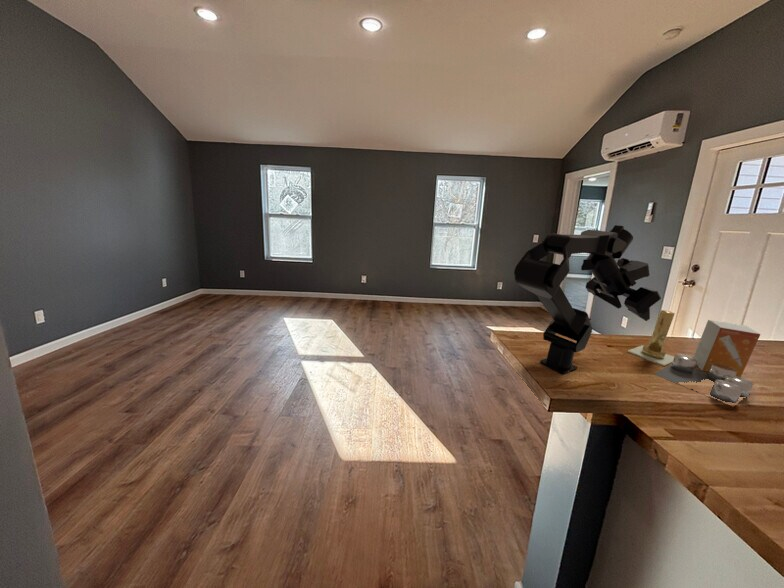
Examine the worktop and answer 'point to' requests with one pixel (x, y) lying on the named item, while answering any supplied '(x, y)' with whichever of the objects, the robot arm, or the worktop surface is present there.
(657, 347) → the brass pin
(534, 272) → the robot arm
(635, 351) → the coaster
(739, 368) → the small box
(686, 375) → the mat
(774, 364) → the worktop surface
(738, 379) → the spacers
